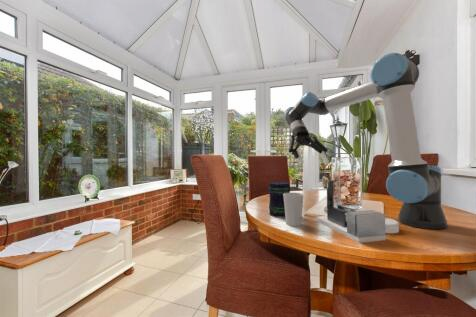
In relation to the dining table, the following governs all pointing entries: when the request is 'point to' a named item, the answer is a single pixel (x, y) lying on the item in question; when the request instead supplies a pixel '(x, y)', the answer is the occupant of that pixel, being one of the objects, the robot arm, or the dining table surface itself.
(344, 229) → the base board
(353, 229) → the sleeve and socket
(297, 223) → the cup
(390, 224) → the coaster
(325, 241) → the dining table surface
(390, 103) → the robot arm
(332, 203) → the dark grey l-shaped bracket
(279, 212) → the storage jar
